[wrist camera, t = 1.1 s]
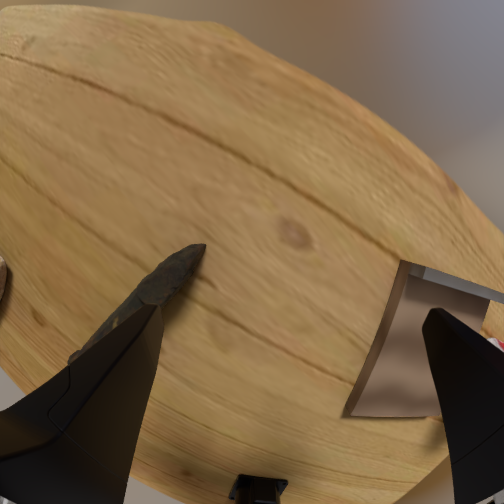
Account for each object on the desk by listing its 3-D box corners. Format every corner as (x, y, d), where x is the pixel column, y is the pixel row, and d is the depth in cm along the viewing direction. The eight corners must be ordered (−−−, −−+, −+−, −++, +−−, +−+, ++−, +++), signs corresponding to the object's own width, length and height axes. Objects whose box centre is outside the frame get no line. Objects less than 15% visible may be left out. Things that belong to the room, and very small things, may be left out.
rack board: (431, 407, 26) (448, 426, 21) (345, 404, 26) (357, 430, 21) (482, 286, 24) (507, 295, 20) (401, 259, 24) (426, 266, 19)
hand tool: (103, 376, 26) (84, 396, 21) (79, 348, 26) (57, 366, 21) (227, 267, 25) (221, 278, 20) (197, 232, 24) (184, 235, 20)
